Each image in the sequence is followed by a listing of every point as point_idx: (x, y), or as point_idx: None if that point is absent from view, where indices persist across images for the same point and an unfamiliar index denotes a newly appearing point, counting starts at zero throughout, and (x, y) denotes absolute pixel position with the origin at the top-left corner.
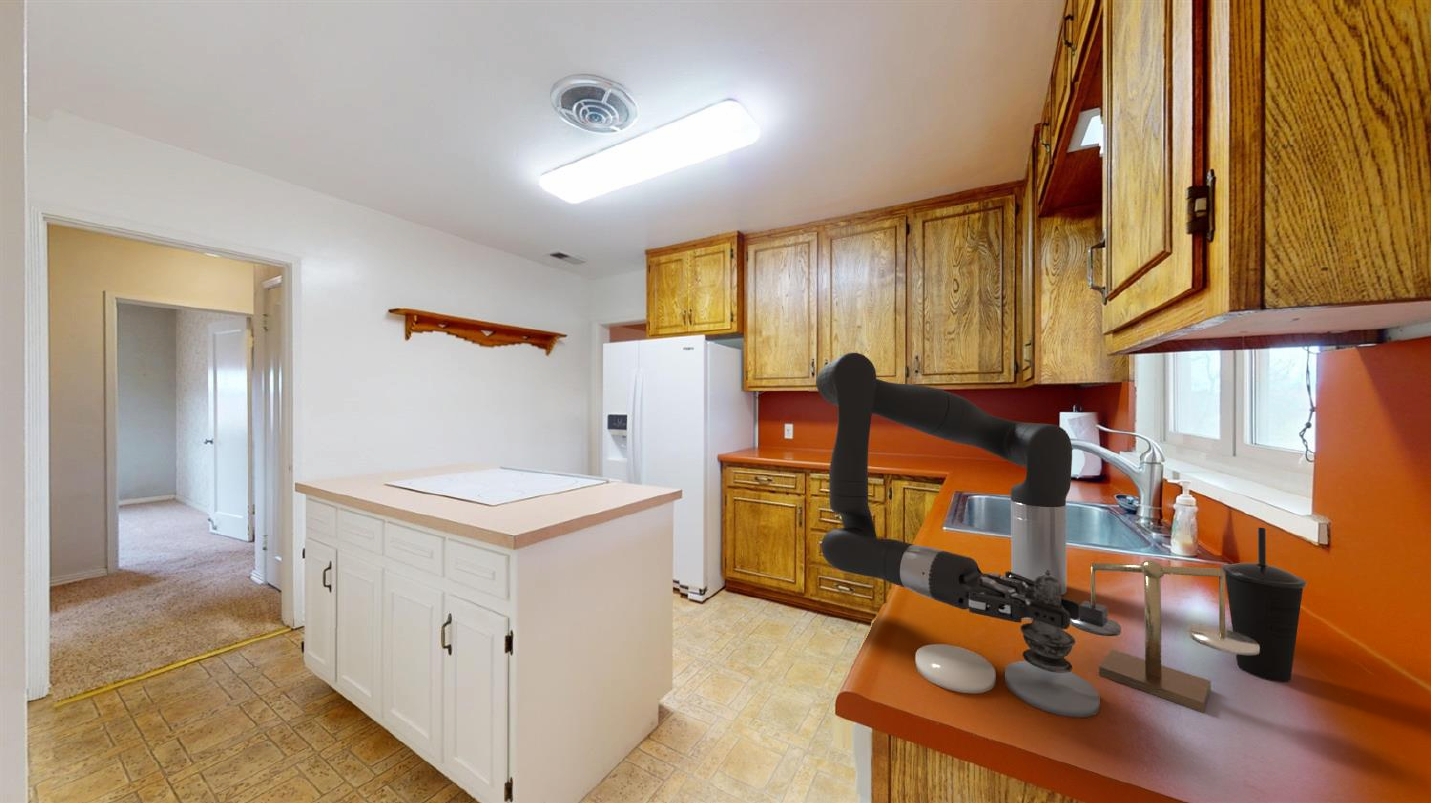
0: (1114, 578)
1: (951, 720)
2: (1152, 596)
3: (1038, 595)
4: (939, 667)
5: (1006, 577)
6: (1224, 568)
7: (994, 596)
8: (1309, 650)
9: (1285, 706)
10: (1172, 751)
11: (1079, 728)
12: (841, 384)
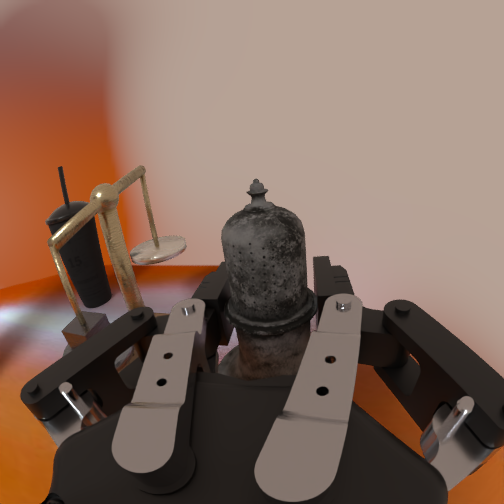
0: None
1: (499, 459)
2: (122, 238)
3: (304, 276)
4: None
5: (50, 414)
6: (56, 218)
7: (442, 362)
8: (61, 285)
9: (152, 294)
10: (310, 331)
11: (355, 387)
12: None
